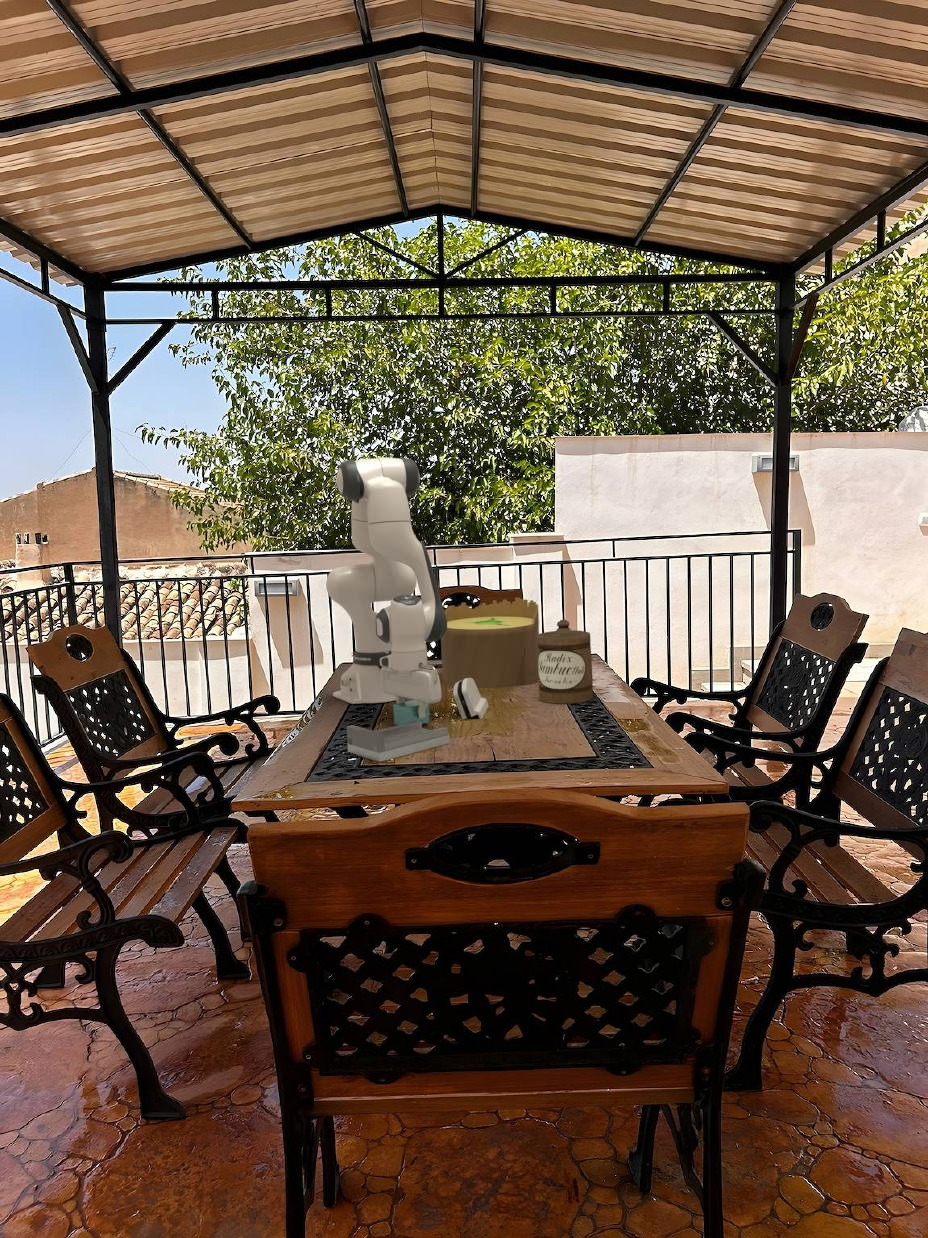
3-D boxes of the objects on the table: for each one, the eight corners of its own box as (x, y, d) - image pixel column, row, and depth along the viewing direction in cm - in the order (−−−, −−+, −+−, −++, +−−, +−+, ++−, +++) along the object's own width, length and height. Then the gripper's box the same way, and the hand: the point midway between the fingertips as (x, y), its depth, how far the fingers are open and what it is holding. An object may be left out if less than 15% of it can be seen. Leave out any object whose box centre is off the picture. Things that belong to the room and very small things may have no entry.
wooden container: (532, 703, 245) (529, 623, 242) (548, 692, 259) (545, 616, 256) (585, 705, 239) (583, 623, 237) (598, 694, 253) (596, 616, 250)
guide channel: (347, 752, 203) (346, 726, 202) (417, 734, 216) (416, 710, 215) (379, 762, 194) (377, 735, 193) (449, 743, 207) (448, 717, 206)
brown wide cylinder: (488, 665, 307) (485, 595, 304) (566, 676, 281) (564, 600, 278) (417, 680, 286) (413, 605, 283) (494, 693, 260) (491, 611, 257)
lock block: (394, 724, 225) (393, 704, 224) (417, 718, 230) (417, 699, 229) (407, 727, 221) (406, 707, 220) (431, 721, 226) (430, 702, 225)
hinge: (481, 719, 229) (467, 683, 228) (464, 725, 230) (450, 689, 229) (488, 704, 245) (475, 671, 245) (473, 710, 246) (459, 677, 245)
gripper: (446, 663, 218) (448, 719, 219) (395, 654, 233) (397, 706, 235) (426, 667, 213) (428, 724, 215) (375, 658, 229) (378, 711, 231)
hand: (412, 715), depth 225 cm, fingers closed on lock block, 5 cm apart
